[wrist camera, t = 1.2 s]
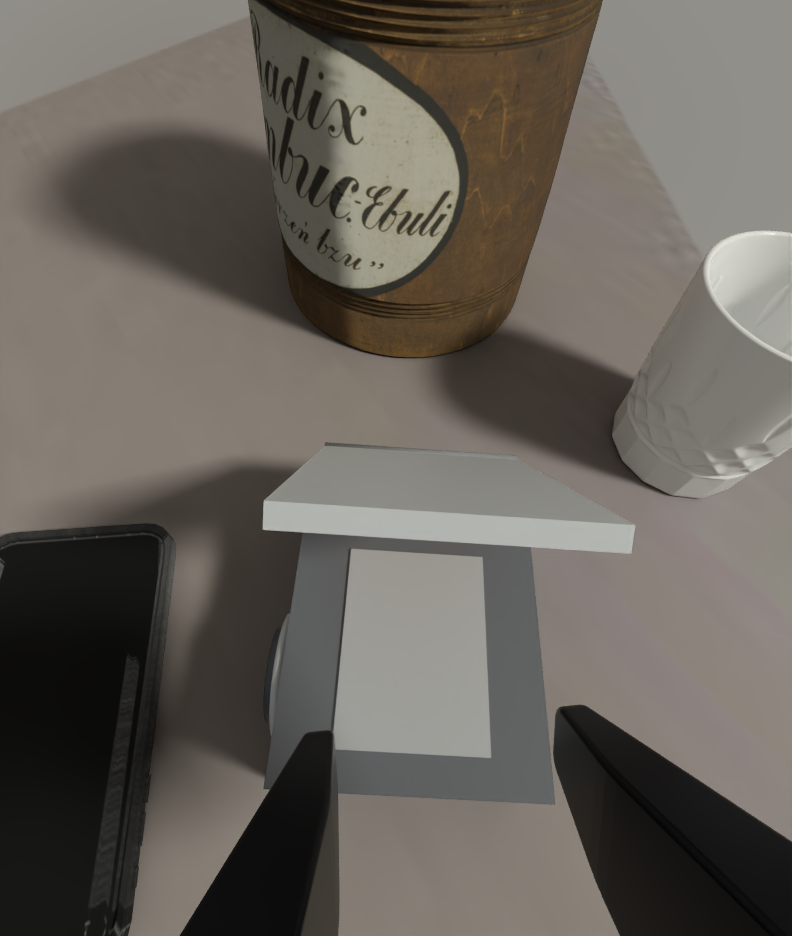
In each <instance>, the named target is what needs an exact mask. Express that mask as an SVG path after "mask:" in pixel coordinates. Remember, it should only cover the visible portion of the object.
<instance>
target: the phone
mask: <svg viewBox="0 0 792 936" xmlns="http://www.w3.org/2000/svg"><path fill="white" fill-rule="evenodd" d="M175 558H176V545H175V542H174V540H173V538H172V537H171V536H170V535H169V533H168V532H167V531H166V530H165V529H164V528H162V527H161V526H158V525H156V524H133V525H119V526H105V527H90V528H76V529H62V530H47V531H33V532H19V533H12V534H7V535H5V536H3V537H1V538H0V936H128V933H129V929H130V924H131V920H132V912H133V904H134V896H135V888H136V886H137V877H138V869H139V866H138V863H139V855H140V846H142V840H143V832H144V823H145V815H146V812H145V805H146V803H147V802H148V794H149V786H150V778H151V775H149V772H150V764H151V756H152V748H153V739H154V731H155V723H156V715H157V706H158V698H159V690H160V682H161V673H162V665H163V657H164V649H165V641H166V632H167V624H168V616H169V608H170V599H171V591H172V583H173V575H174V566H175Z"/></svg>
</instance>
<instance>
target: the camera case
mask: <svg viewBox="0 0 792 936" xmlns="http://www.w3.org/2000/svg"><path fill="white" fill-rule="evenodd" d="M264 717H265V720H266V722H269V725H270V734H271V743H270V750H269V756H268V763H267V769H266V776H265V782H264V789H271V787H272V786H273V784H274V782H275V781H276V779H277V778H278V776H279V774H280V773H281V771H282V769H283V768H284V766H285V765H286V763H287V761H288V760H289V758H290V757H291V755H292V753H293V752H294V750H295V748H296V747H297V745H298V744H299V742H300V740H301V739H302V737H303V736H304V735H305V734H306V733H307V732H313V731H323V730H331V731H333V733H334V737H335V750H336V765H337V780H338V793H346V794H365V795H383V796H402V797H421V798H440V799H459V800H477V801H496V802H515V803H534V804H553V805H555V797H554V786H553V776H552V765H551V755H550V744H549V734H548V723H547V713H546V702H545V692H544V681H543V671H542V660H541V650H540V639H539V629H538V618H537V608H536V597H535V587H534V576H533V566H532V555H531V547H522V546H506V545H491V544H475V543H460V542H444V541H429V540H413V539H398V538H382V537H367V536H351V535H336V534H320V533H305V532H303V533H302V539H301V546H300V552H299V559H298V566H297V572H296V579H295V585H294V592H293V598H292V605H291V612H290V613H288V614H287V616H286V618H285V620H284V622H283V625H282V627H278V629H277V630H276V633H275V635H274V638H273V641H272V645H271V649H270V654H269V659H268V664H267V671H266V678H265V688H264Z"/></svg>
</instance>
